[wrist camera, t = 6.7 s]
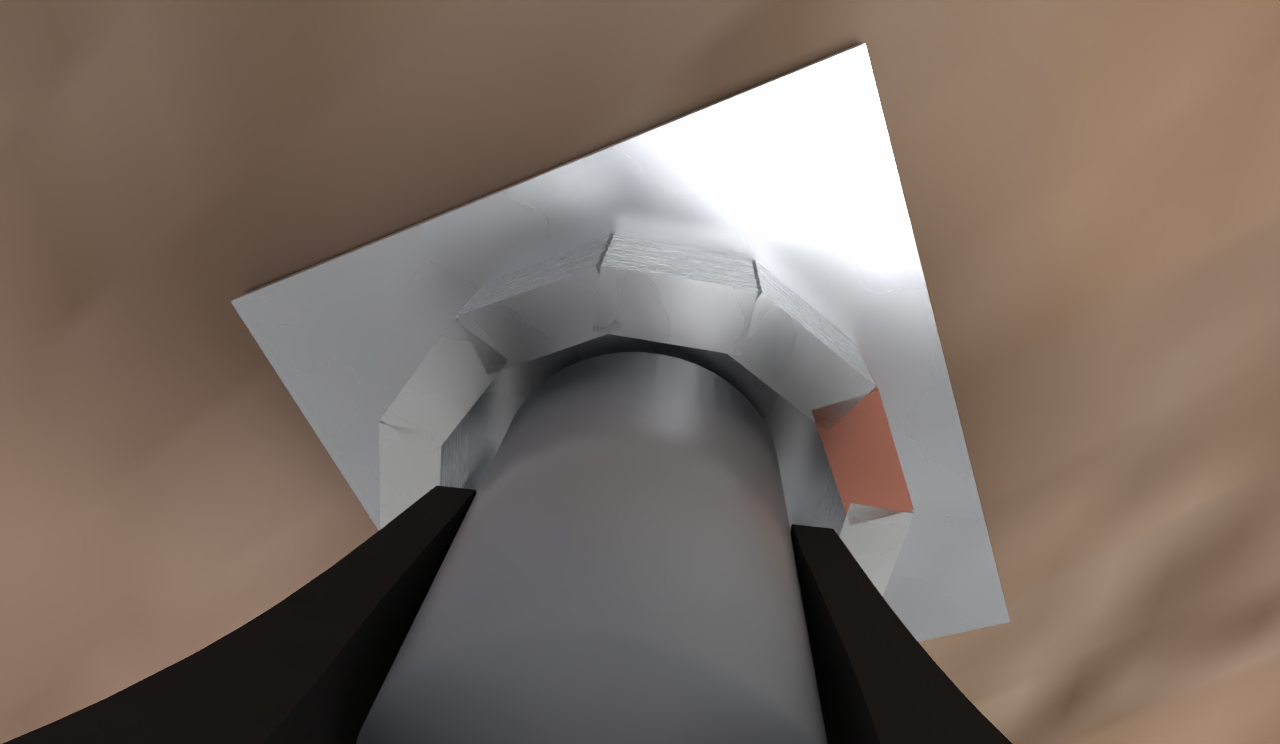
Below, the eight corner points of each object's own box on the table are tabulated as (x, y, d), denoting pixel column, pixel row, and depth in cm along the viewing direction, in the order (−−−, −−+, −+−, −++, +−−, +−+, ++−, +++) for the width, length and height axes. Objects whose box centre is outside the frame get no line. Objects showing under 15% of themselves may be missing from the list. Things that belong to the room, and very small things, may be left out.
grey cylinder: (512, 579, 14) (363, 1007, 8) (491, 347, 12) (267, 678, 6) (767, 594, 13) (820, 1052, 7) (790, 357, 11) (891, 720, 5)
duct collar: (243, 293, 13) (168, 336, 11) (859, 42, 10) (892, 45, 9) (511, 715, 17) (489, 797, 15) (1002, 607, 15) (1044, 688, 13)
